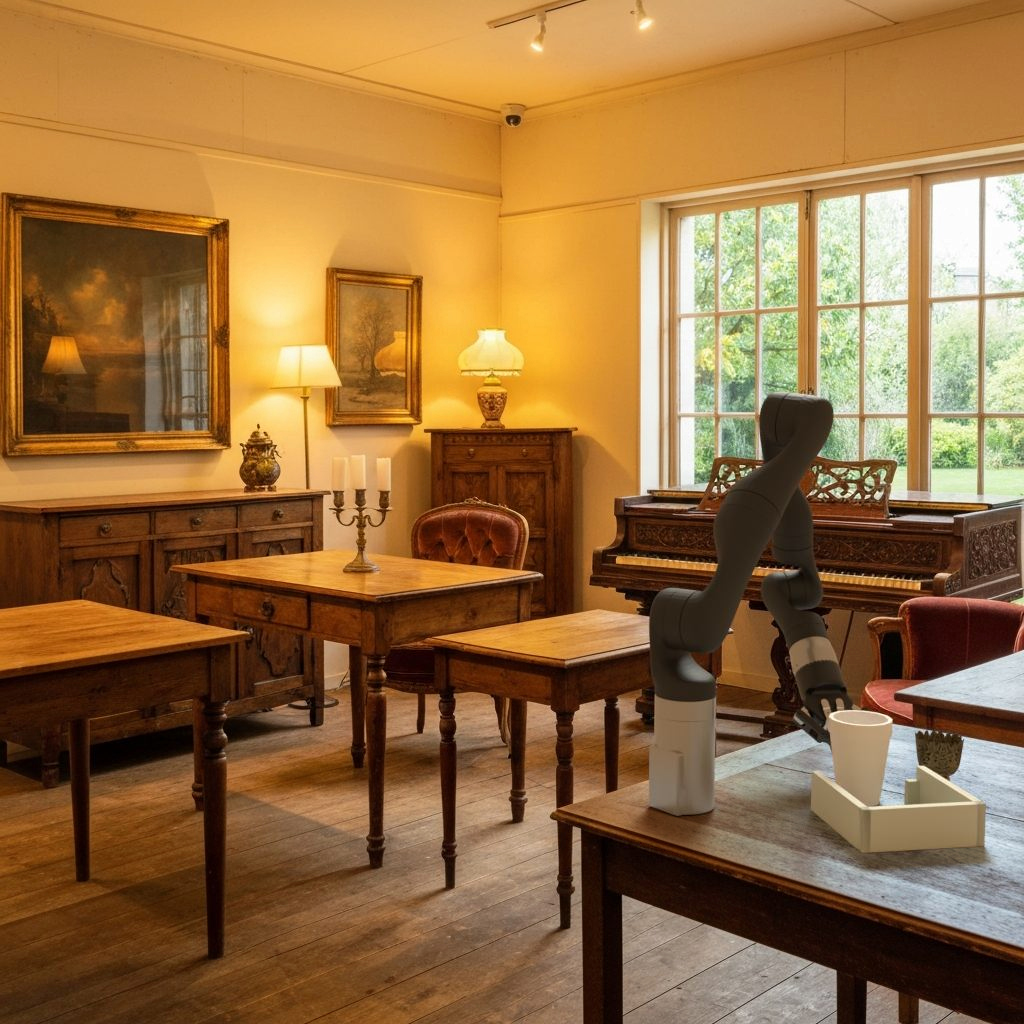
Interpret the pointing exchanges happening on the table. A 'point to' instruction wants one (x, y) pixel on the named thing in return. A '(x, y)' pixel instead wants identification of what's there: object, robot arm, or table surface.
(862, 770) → the foam cup
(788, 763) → the table surface
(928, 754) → the cup
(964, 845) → the walled box
